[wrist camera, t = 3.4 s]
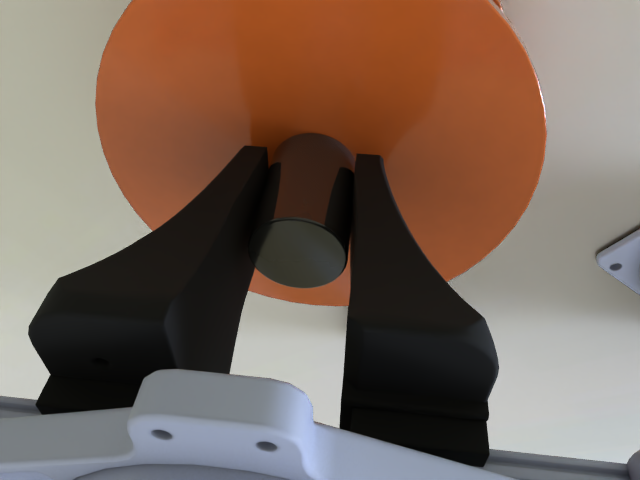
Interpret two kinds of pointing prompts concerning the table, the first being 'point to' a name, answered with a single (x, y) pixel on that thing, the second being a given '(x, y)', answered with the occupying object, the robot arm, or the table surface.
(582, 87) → the table surface
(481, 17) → the pan lid
